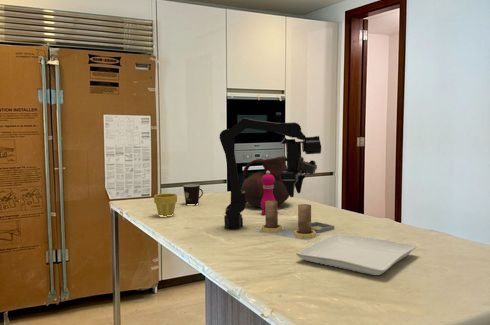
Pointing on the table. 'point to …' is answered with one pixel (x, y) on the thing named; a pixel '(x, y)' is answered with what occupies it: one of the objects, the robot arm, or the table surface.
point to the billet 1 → (271, 214)
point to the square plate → (356, 253)
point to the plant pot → (165, 203)
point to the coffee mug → (192, 193)
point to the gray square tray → (327, 226)
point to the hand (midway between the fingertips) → (295, 195)
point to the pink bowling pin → (267, 189)
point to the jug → (255, 185)
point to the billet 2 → (304, 219)
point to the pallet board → (288, 233)
